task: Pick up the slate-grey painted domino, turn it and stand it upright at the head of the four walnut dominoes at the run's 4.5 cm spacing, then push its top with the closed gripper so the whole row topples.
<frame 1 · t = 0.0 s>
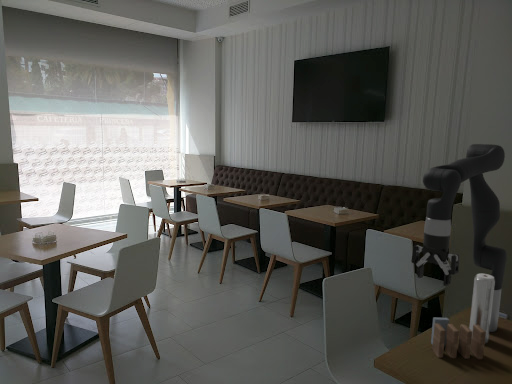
hand: (432, 281, 126), 29 cm above the table, fingers open, 8 cm apart
walnut domino 5: (476, 355, 137), on the table
walnut domino 4: (463, 354, 137), on the table
walnut domino 3: (450, 354, 137), on the table
slate domino: (438, 344, 144), on the table
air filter: (478, 339, 148), on the table
walnut domino 2: (437, 353, 137), on the table
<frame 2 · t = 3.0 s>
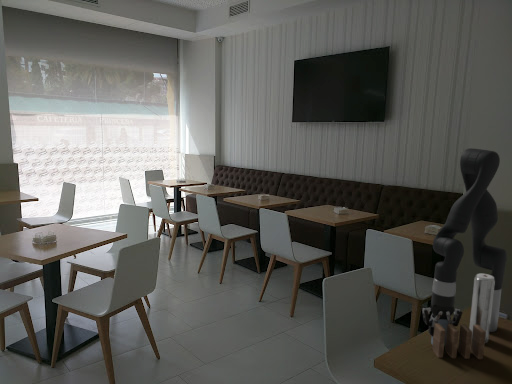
hand: (439, 335, 143), 3 cm above the table, fingers closed on slate domino, 5 cm apart
slate domino: (438, 344, 144), on the table, touching gripper
everything else where it was.
when the fingers open (4 cm above the table, at t = 8.4 s): slate domino stays where it is, on the table.
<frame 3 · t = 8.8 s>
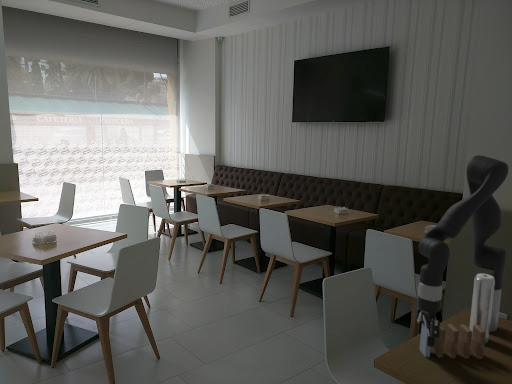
hand: (425, 339, 137), 5 cm above the table, fingers open, 8 cm apart
slate domino: (424, 353, 138), on the table
everything else where it was.
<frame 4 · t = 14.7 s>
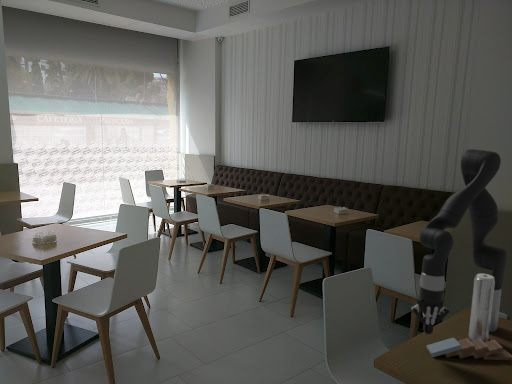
hand: (427, 333, 136), 8 cm above the table, fingers closed
walnut domino 5: (480, 354, 137), on the table, tilted 90°
walnut domino 4: (470, 353, 137), point 1 cm above the table, tilted 72°, touching walnut domino 3
walnut domino 3: (456, 352, 137), point 1 cm above the table, tilted 70°, touching walnut domino 2, walnut domino 4
slate domino: (429, 351, 137), point 1 cm above the table, tilted 70°, touching walnut domino 2
walnut domino 2: (442, 351, 137), point 1 cm above the table, tilted 70°, touching slate domino, walnut domino 3
everything else where it was.
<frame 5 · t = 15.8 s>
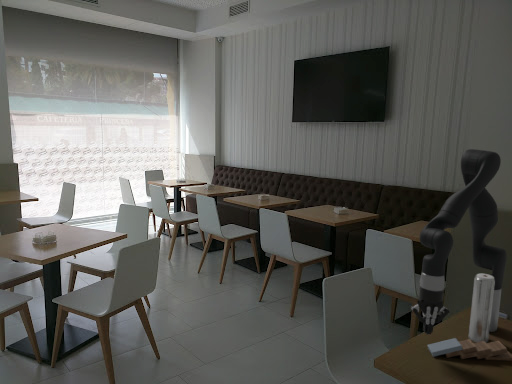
hand: (427, 333, 136), 8 cm above the table, fingers closed
walnut domino 5: (481, 355, 137), on the table, tilted 90°, touching walnut domino 4
walnut domino 4: (473, 353, 137), point 1 cm above the table, tilted 72°, touching walnut domino 5
walnut domino 3: (458, 353, 137), point 1 cm above the table, tilted 72°, touching walnut domino 2
slate domino: (430, 350, 138), point 1 cm above the table, tilted 71°, touching walnut domino 2
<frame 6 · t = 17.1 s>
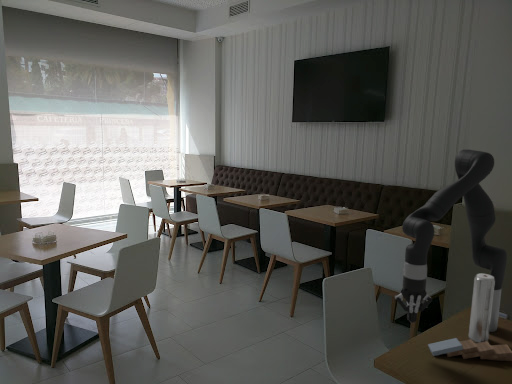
hand: (411, 321, 138), 11 cm above the table, fingers closed
walnut domino 4: (478, 353, 136), point 1 cm above the table, tilted 76°, touching walnut domino 3, walnut domino 5
walnut domino 3: (460, 353, 137), point 1 cm above the table, tilted 70°, touching walnut domino 2, walnut domino 4
slate domino: (430, 350, 138), point 1 cm above the table, tilted 71°, touching walnut domino 2
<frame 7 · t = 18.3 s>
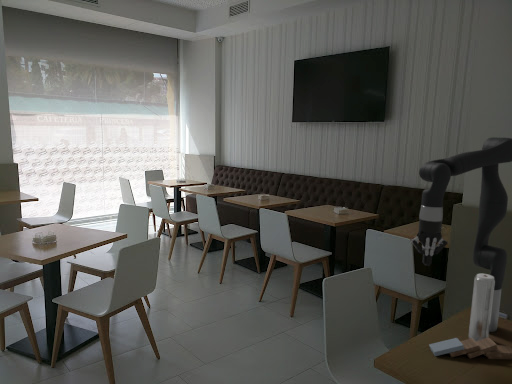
hand: (426, 264, 143), 29 cm above the table, fingers closed
walnut domino 4: (482, 350, 137), point 2 cm above the table, tilted 90°, touching walnut domino 3, walnut domino 5
walnut domino 3: (465, 352, 137), point 1 cm above the table, tilted 66°, touching walnut domino 2, walnut domino 4
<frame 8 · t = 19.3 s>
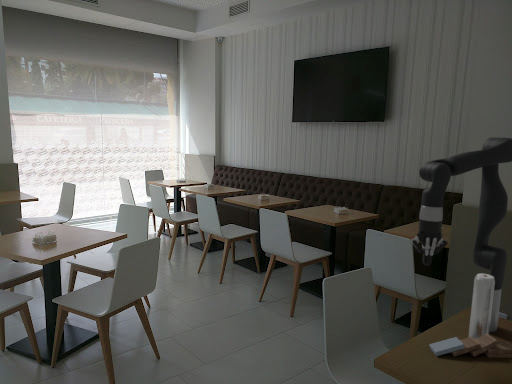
hand: (426, 264, 143), 29 cm above the table, fingers closed
walnut domino 5: (483, 352, 138), on the table, tilted 90°
walnut domino 4: (483, 347, 139), point 2 cm above the table, tilted 90°, touching walnut domino 3
walnut domino 3: (468, 351, 138), point 1 cm above the table, tilted 66°, touching walnut domino 2, walnut domino 4
slate domino: (432, 350, 138), point 1 cm above the table, tilted 72°
walnut domino 2: (449, 350, 138), point 1 cm above the table, tilted 72°, touching walnut domino 3
everything else where it was.
at the end: walnut domino 5 tilted 90°; walnut domino 3 tilted 68°; slate domino inside the target area (3.3 cm from its centre), point 0.7 cm above the table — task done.
